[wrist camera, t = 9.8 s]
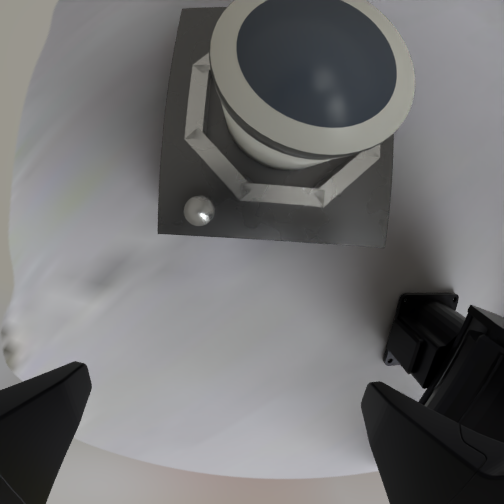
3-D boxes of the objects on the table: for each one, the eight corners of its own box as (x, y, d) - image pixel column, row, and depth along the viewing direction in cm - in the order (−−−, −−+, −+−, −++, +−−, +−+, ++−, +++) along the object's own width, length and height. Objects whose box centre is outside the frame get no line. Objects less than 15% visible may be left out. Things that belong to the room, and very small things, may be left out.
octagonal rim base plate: (360, 61, 17) (396, 25, 11) (353, 233, 20) (394, 252, 14) (194, 44, 17) (178, -2, 10) (178, 222, 19) (150, 237, 13)
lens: (345, 69, 13) (406, 4, 6) (342, 177, 14) (419, 172, 7) (229, 55, 12) (220, -30, 6) (220, 167, 14) (196, 145, 7)
